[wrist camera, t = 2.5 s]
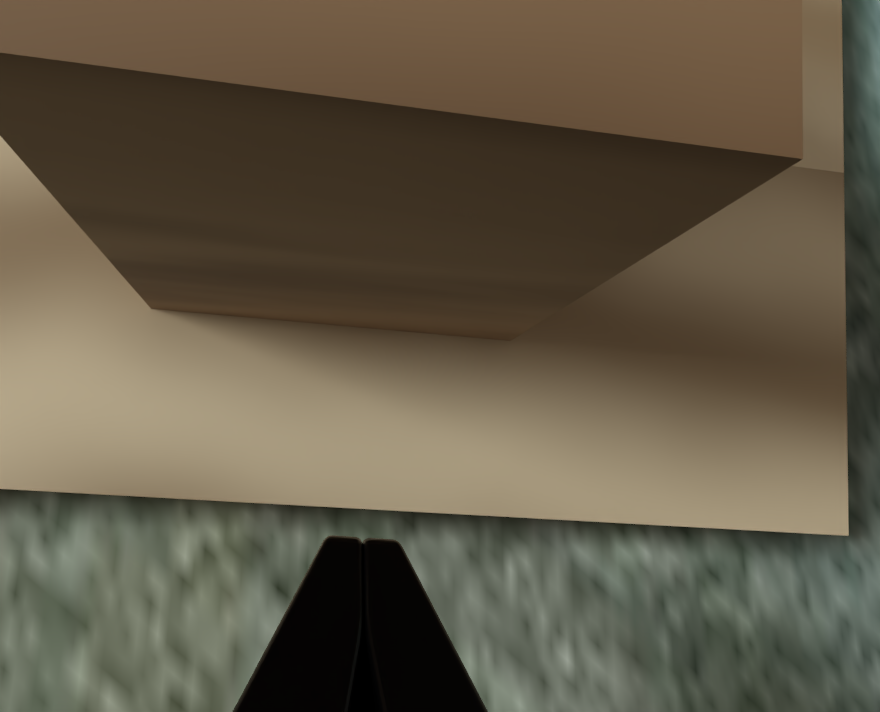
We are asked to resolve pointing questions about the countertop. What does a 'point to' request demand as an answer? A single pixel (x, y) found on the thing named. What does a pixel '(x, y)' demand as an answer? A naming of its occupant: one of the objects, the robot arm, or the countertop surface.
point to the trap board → (464, 375)
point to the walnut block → (396, 145)
